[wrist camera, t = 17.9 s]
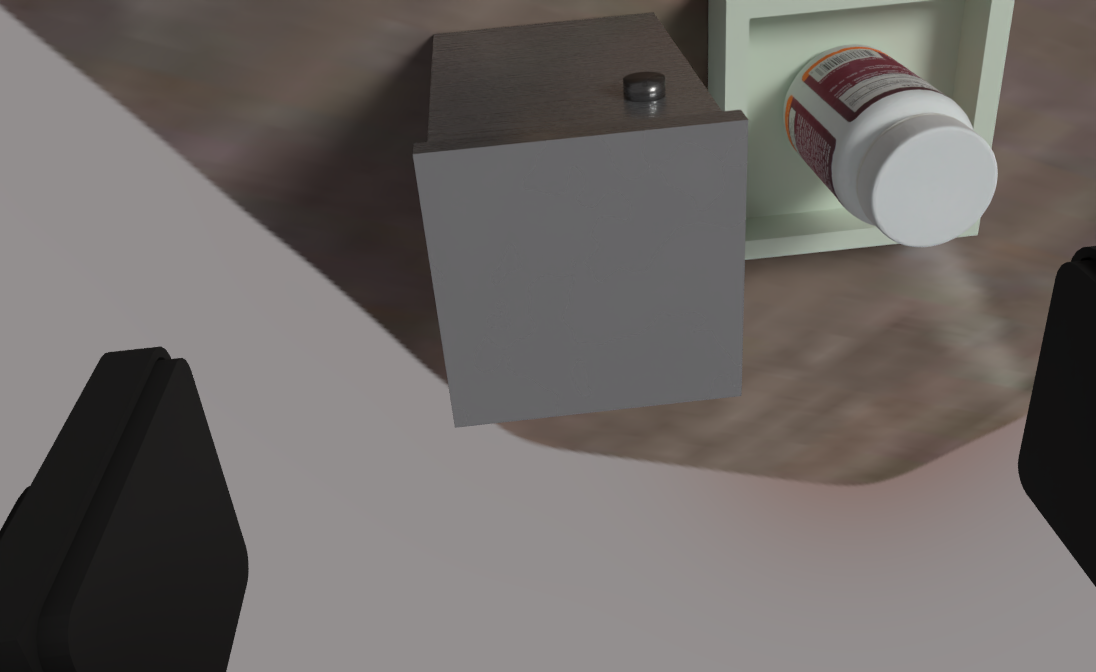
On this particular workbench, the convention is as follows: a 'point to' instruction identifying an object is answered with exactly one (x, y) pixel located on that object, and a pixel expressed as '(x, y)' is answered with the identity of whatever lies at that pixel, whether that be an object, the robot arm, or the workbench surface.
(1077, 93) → the workbench surface
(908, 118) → the pill bottle
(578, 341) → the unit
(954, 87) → the tray
